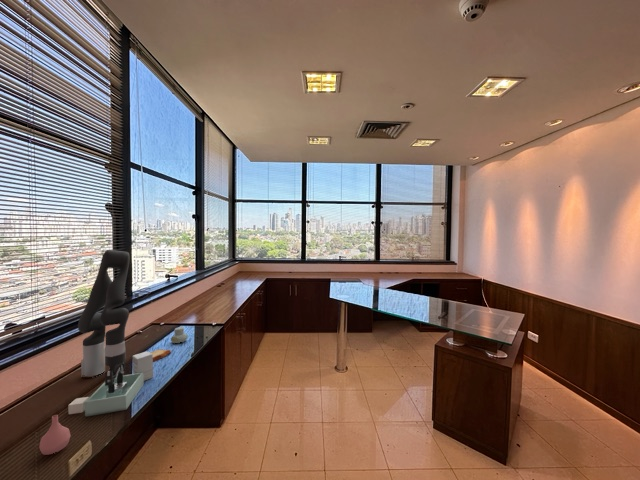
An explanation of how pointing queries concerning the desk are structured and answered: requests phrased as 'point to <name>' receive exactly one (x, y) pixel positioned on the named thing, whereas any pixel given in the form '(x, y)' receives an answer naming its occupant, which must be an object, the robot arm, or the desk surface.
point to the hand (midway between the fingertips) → (115, 387)
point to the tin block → (118, 390)
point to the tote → (116, 403)
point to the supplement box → (143, 364)
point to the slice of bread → (159, 354)
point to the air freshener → (179, 335)
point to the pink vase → (54, 438)
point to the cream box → (77, 405)
